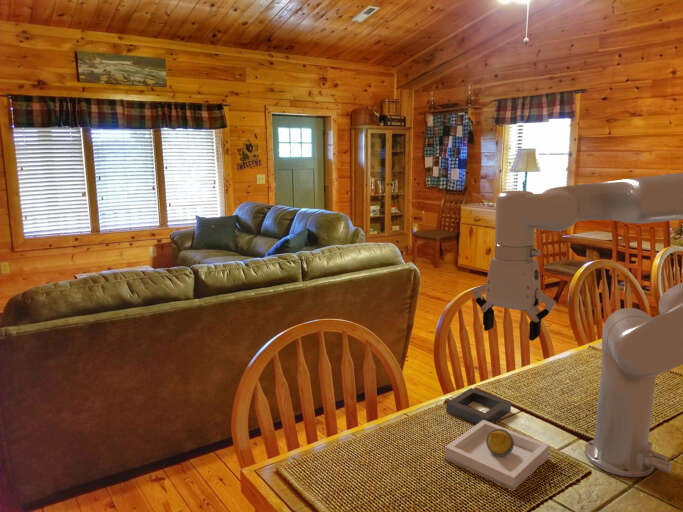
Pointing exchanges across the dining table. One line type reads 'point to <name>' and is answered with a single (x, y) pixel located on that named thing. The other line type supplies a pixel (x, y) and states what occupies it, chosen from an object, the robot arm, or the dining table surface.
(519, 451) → the tray
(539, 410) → the dining table surface
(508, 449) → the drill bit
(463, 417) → the socket collar
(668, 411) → the dining table surface
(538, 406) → the dining table surface
